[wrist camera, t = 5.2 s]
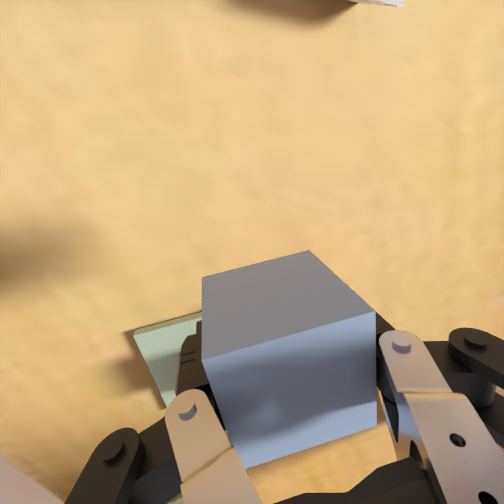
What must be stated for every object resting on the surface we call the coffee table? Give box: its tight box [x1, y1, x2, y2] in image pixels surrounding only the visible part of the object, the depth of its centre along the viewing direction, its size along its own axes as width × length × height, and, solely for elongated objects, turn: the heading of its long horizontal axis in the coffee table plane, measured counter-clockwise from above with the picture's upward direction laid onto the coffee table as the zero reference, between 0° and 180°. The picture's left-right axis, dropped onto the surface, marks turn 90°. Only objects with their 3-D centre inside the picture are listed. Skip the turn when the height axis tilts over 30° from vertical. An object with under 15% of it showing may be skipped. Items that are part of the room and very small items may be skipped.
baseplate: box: [133, 312, 202, 407], centre depth 29 cm, size 12×12×1 cm
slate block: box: [201, 250, 377, 469], centre depth 10 cm, size 5×5×5 cm
